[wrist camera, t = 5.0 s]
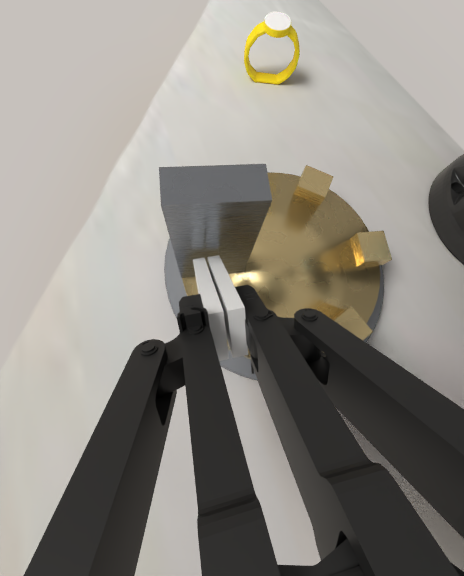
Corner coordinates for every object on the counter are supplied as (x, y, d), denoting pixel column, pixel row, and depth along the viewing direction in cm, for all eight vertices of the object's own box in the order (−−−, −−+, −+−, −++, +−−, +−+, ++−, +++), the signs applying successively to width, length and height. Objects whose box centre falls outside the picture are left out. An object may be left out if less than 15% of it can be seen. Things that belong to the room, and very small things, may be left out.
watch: (242, 87, 32) (246, 28, 27) (243, 71, 33) (246, 9, 28) (292, 90, 33) (306, 31, 27) (291, 73, 33) (305, 12, 28)
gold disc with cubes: (347, 179, 27) (443, 54, 16) (394, 350, 23) (568, 335, 12) (175, 186, 25) (152, 49, 14) (189, 376, 21) (170, 386, 10)
